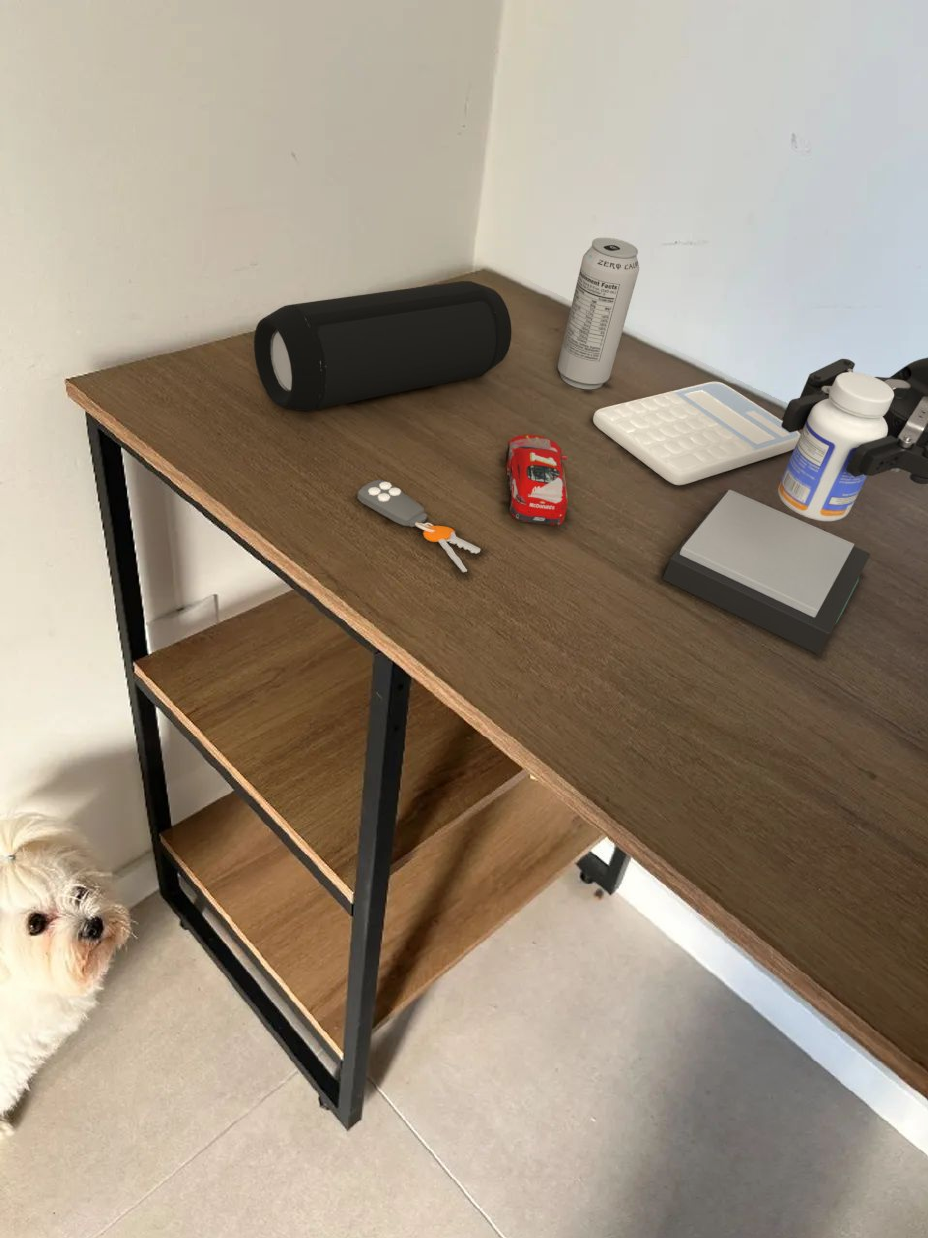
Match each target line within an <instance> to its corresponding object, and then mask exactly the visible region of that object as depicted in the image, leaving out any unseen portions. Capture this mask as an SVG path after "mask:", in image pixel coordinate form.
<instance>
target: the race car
mask: <svg viewBox="0 0 928 1238" xmlns="http://www.w3.org/2000/svg"><path fill="white" fill-rule="evenodd" d="M568 459H569V457H568V456H567V455H563V454H562V447H560V446H559V444H558V443H556V442H555V441H554V440H552V439H549V438H547V437H545V436H541V435H537V434H523V435H517V436H515V437H513V438H511V439H510V440H509V441H508V444H507V450H506V457H505V462H506V476H507V477H506V478H507V494H508V495H507V496H508V506H507V507H508V510H509V512H510V515H512V517H513V518H515V519H516V520H519V521H522V522H523V523H531V524H539V525H549V526H552V527H555V525H556V526H560V525H562V523H563V522H564V521H565V518H566V513H567V508H568V500H569V497H568V490H567V483H566V476H565V475H566V474H565V468H564V467H565V466H564V460H568Z"/></svg>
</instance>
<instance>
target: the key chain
mask: <svg viewBox="0 0 928 1238" xmlns="http://www.w3.org/2000/svg"><path fill="white" fill-rule="evenodd" d="M357 499H358V501H359V502H360V503H361V504H363V505H365V506H367V507H369V508H370V509H372V510H373V511H375V512H377V513H379V514H380V515H382V516H384V517H386V518H388V519H389V520H391V521H393V522H395V523H396V524H399V525H401V526H403V527H410V528H413V527H416V528H418V529H420V530H423V532H422V535H423V538H424V539H426V540H427V541H429V542H432V543H437V542H438V543H439V545H440V546H441V548H442V549H443V550H444V551H445V552H446V554H447V555H448V557H449V558H450V559H451V560H452V561H453V562H454V564H455V565H456V566H457V567H458V568H459V570H460V571H461V572H462V573H467V572H468V569H467V568H466V567H465V565H464V563H463V561H462V559H461V558H460V557H459V556H458V555H457V554H456V553H455V551H454V549H453V548H452V547H451V546H450V544H452V545H456V546H457V547H458V548H459V549H462V548H463V550H464V551H466V550H468V551H469V552H470V553H471V554H479V553H480V552H481V548H480V547H479V546H476V545H474V544H472V543H470V542H468V541H466V540H464V539H462V538H460V537H458V536H457V535H456V531H455V530H454V529H453V528H451V527H448V526H446V525H434V524H432V523H431V522H426V521H427V519H428V514H427V513H426V512H425V511H426V510H425V508H424V507H423V506H422V504H420V503H419V502H417V501H416V500H415V499H413V498H411V497H410V496H409V495H408V494H406V493H405V492H403V491H402V490H401V489H400V488H398V487H396V486H395V485H394V484H392V483H391V482H389V481H385V480H383V479H375V480H373V481H371V482H369V483H366V484H365V485H363V486H361V488H360V489H359V490H358V491H357ZM448 542H449V543H448Z"/></svg>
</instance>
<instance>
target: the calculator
mask: <svg viewBox="0 0 928 1238" xmlns="http://www.w3.org/2000/svg"><path fill="white" fill-rule="evenodd" d="M592 422H593V424H594V426H595V427H596V428H597V429H598V430H600V431H601V432H602V433H604V434H605V435H606V436H608V437H609V438H610V439H611V440H613V441H614V442H615V443H617V445H619V446H621V447H622V448H623V449H624V450H626V451H627V452H628V453H630V454H631V455H633V456H634V457H635V458H636V459H638V460H639V461H640V462H641V463H643V464H644V465H646V466H647V467H648V468H649V469H651V470H652V471H653V472H654V473H656V474H658V475H659V476H660V477H662V478H663V479H664V480H666V481H667V482H669V483H670V484H672V485H675V486H683V485H688V484H691V483H695V482H697V481H701V480H704V479H706V478H709V477H714V476H716V475H719V474H722V473H725V472H728V471H732V470H734V469H738V468H741V467H744V466H748V465H750V464H753V463H757V462H760V461H763V460H766V459H770V458H773V457H775V456H779V455H782V454H785V453H787V452H790V451H794V449H795V447H796V444H797V442H798V439H799V437H800V435H801V432H799V430H798V431H795V432H791V433H790V432H788V431H786V430H785V429H784V428H782V426H781V425H782V422H783V420H782V419H780V418H779V417H777V416H775V415H774V414H772V413H771V412H769V411H768V410H766V409H765V408H763V407H762V406H760V405H758V404H757V403H756V402H754V401H752V400H751V399H749V398H748V397H746V396H745V395H743V394H741V393H740V392H738V391H737V390H735V389H733V388H732V387H730V386H729V385H727V384H726V383H723V382H722V381H721V382H720V381H709V382H704V383H700V384H699V383H698V384H695V385H692V386H691V385H690V386H688V387H684V388H679V389H676V390H671V391H667V392H662V393H658V394H655V395H650V396H646V397H642V398H638V399H634V400H630V401H626V402H621V403H618V404H617V403H616V404H613V405H609V406H606V407H601V408H599V409H597V410H596V411H595V412H594V414H593V418H592Z"/></svg>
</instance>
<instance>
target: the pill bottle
mask: <svg viewBox="0 0 928 1238" xmlns="http://www.w3.org/2000/svg"><path fill="white" fill-rule="evenodd" d="M875 377H876V376H872V375H869V374H866V373H861V372H854V371H853V372H846V373H842V374H840V375H838V376H837V377H836V379H835V381H834V383H833V385H832V387H831V389H830V391H829V399H825V400H822V401H820V402H819V403H817V404H816V405H815V406H814V407H813V408H812V410H811V412H810V414H809V416H808V418H807V421H806V423H805V425H804V428H803V429H802V430H801V432H800V434H801V435H800V437H799V439H798V442H797V444H796V447H795V449H793V450H792V453H791V456H790V458H789V461H788V463H787V465H786V468H785V471H784V473H783V475H782V478H781V480H780V483H779V486H778V497H779V499H780V500H781V502H782V503H783V504H784V505H785V506H787V508H789V509H790V510H792V511H793V512H795V513H796V514H799V515H801V516H802V517H805V518H808V519H811V520H813V521H814V520H815V521H818V522H835V521H836V522H837V521H839V520H842V519H843V518H845V517H846V516H848V514H849V513H850V511H851V510H852V507H853V506H854V503H855V502H856V500H857V498H858V496H859V493H860V491H861V490H862V487H863V485H864V483H865V482H866V479H867V477H868V476H865V475H864V474H863V475H860V476H857V477H854V476H852V475H851V474H850V473H848V472H847V471H846V468H847V466H848V464H849V462H850V460H851V458H852V455H853V453H854V451H855V450H856V448H857V447H858V446H860V445H861V444H864V443H867V442H871V441H874V440H877V439H881V438H884V437H886V436H887V433H888V426H887V423H886V421H885V419H884V418H883V417H882V416H884V415H885V414H886V412H887V411H888V409H889V407H890V404H891V402H892V400H893V398H894V392H893V390H892V389H891V388H890V387H889V386H888V385H887V384H886V383H884V382H883V381H881V380H879V379H877V378H875Z"/></svg>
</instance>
